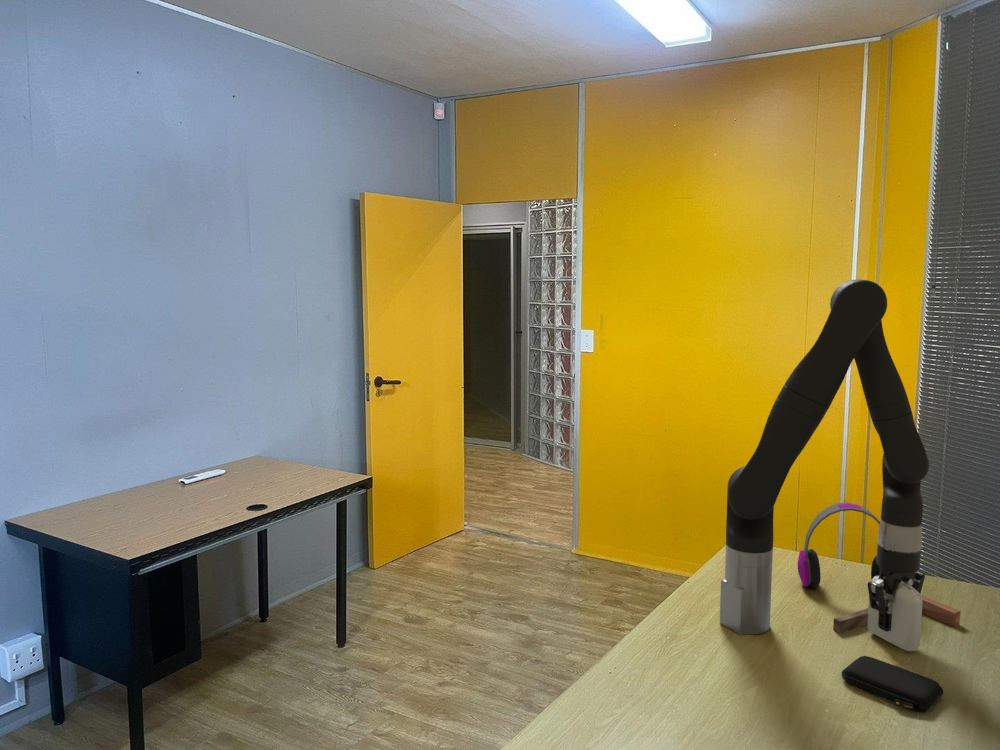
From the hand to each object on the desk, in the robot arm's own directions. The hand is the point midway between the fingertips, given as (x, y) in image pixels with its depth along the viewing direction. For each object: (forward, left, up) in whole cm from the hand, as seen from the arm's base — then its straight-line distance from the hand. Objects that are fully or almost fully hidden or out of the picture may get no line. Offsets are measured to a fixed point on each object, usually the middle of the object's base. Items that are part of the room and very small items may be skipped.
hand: (893, 626), depth 147 cm
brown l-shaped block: (+7, +4, -3) cm, 8 cm away
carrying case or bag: (-15, -11, -4) cm, 19 cm away
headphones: (+13, +22, -4) cm, 26 cm away
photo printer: (0, 0, -3) cm, 3 cm away
